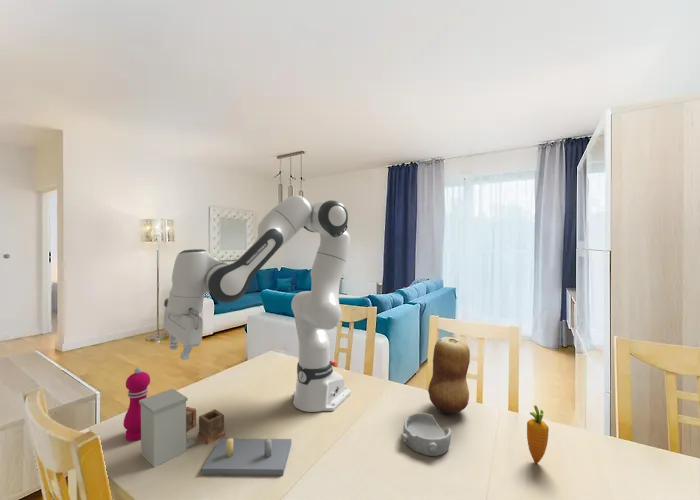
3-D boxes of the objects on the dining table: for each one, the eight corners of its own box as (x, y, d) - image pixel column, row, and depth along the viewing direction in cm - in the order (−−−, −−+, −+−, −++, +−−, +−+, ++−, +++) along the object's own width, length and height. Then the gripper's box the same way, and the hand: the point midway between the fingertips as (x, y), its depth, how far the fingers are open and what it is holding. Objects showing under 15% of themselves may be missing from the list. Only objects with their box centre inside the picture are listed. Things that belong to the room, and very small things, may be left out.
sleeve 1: (181, 422, 101) (181, 405, 101) (196, 425, 100) (196, 408, 100) (165, 433, 96) (165, 415, 95) (180, 436, 94) (180, 419, 94)
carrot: (546, 472, 83) (549, 415, 82) (524, 464, 85) (527, 409, 85) (547, 461, 87) (549, 406, 86) (526, 454, 89) (528, 401, 89)
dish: (419, 422, 104) (419, 407, 104) (459, 442, 94) (460, 426, 94) (391, 441, 94) (391, 425, 94) (433, 466, 84) (434, 448, 84)
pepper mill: (138, 444, 90) (138, 374, 90) (117, 440, 92) (116, 371, 91) (158, 429, 98) (158, 364, 97) (138, 425, 99) (138, 361, 98)
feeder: (182, 434, 95) (182, 385, 95) (197, 445, 90) (197, 394, 90) (139, 454, 86) (139, 400, 86) (153, 468, 81) (153, 411, 81)
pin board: (220, 443, 91) (220, 424, 91) (291, 444, 92) (291, 425, 92) (202, 474, 79) (202, 452, 79) (283, 475, 80) (283, 453, 80)
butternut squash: (468, 425, 103) (471, 348, 102) (425, 416, 107) (427, 342, 106) (468, 404, 116) (470, 335, 115) (430, 397, 120) (432, 331, 119)
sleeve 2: (215, 427, 99) (215, 408, 99) (225, 434, 96) (225, 414, 95) (197, 436, 94) (197, 416, 94) (207, 444, 91) (207, 423, 91)
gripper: (211, 312, 86) (204, 364, 86) (184, 299, 101) (178, 343, 100) (187, 313, 82) (179, 367, 82) (162, 299, 96) (155, 345, 96)
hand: (178, 354), depth 91 cm, fingers open, 8 cm apart
